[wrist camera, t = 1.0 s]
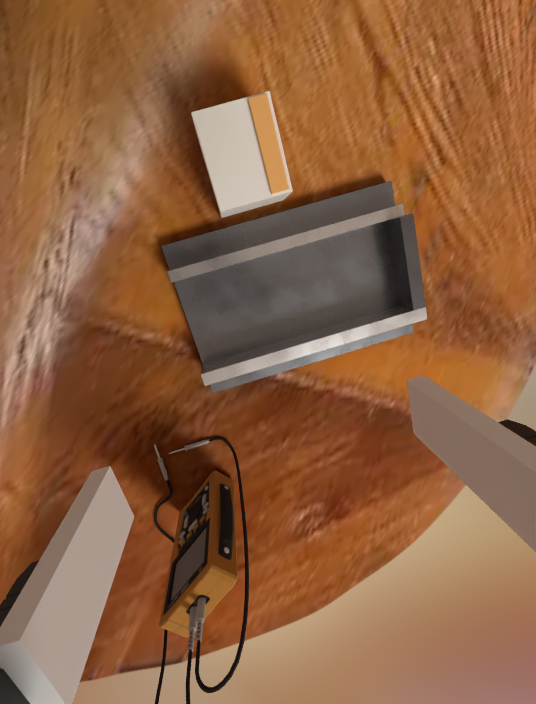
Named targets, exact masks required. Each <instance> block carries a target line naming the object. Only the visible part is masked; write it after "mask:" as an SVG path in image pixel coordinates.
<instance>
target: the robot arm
mask: <svg viewBox="0 0 536 704" xmlns="http://www.w3.org/2000/svg"><path fill="white" fill-rule="evenodd" d="M407 385H408V393H409V401H410V409H411V417H412V425H413V432H414V434H415V435H416V436H417V437H418V438H419V439H420V440H421V441H422V442H423V443H424V444H425V445H426V446H427V447H428V448H429V449H430V450H431V451H432V452H433V453H434V454H435V455H436V456H437V457H438V458H439V459H440V460H441V461H442V462H443V463H445V464H446V465H447V466H448V467H449V468H450V469H451V470H452V471H453V472H454V473H455V474H456V475H457V476H458V477H459V478H460V479H461V480H462V481H463V482H464V483H465V484H466V485H467V486H468V487H469V488H470V489H471V490H472V491H473V492H474V493H475V494H477V495H478V496H479V497H480V498H481V499H482V500H483V501H484V502H485V503H486V504H487V505H488V506H489V507H490V508H491V509H492V510H493V511H494V512H495V513H496V514H497V515H498V516H499V517H500V518H501V519H502V520H503V521H504V522H505V523H506V524H507V525H508V526H509V527H510V528H511V529H513V530H514V531H515V532H516V533H517V534H518V535H519V536H520V537H521V538H522V539H523V540H524V541H525V542H526V543H527V544H528V545H529V546H530V547H531V548H532V549H533V550H534V551H535V552H536V431H534V430H533V429H531V428H529V427H527V426H526V425H523V424H520V423H517V422H514V421H510V420H504V421H501V422H496V421H495V420H493V419H492V418H490V417H488V416H487V415H485V414H484V413H482V412H481V411H479V410H477V409H476V408H474V407H473V406H471V405H470V404H468V403H466V402H465V401H463V400H462V399H460V398H458V397H457V396H455V395H454V394H452V393H451V392H449V391H447V390H446V389H444V388H443V387H441V386H440V385H438V384H436V383H435V382H433V381H432V380H430V379H428V378H427V377H425V376H424V375H423V376H419V377H416V378H412V379H409V380H407ZM133 519H134V515H133V513H132V511H131V509H130V507H129V505H128V502H127V500H126V498H125V496H124V494H123V492H122V490H121V488H120V486H119V484H118V481H117V479H116V477H115V475H114V473H113V471H112V469H111V467H110V466H108V467H104V468H101V469H97V470H94V471H92V472H91V474H90V475H89V477H88V479H87V480H86V482H85V484H84V485H83V487H82V489H81V491H80V492H79V494H78V496H77V497H76V499H75V501H74V503H73V504H72V506H71V508H70V509H69V511H68V513H67V514H66V516H65V518H64V520H63V521H62V523H61V525H60V526H59V528H58V530H57V531H56V533H55V535H54V537H53V538H52V540H51V542H50V543H49V545H48V547H47V548H46V550H45V552H44V554H43V555H42V557H41V559H40V560H39V561H36V562H33V563H31V564H30V565H29V567H28V568H27V569H26V570H25V571H24V572H23V573H22V574H21V575H20V576H19V577H18V578H17V579H16V581H15V583H14V584H13V586H12V587H11V589H10V591H9V592H8V594H7V596H6V599H4V600H3V602H2V604H1V605H0V704H72V703H73V700H74V697H75V694H76V691H77V688H78V685H79V682H80V679H81V676H82V673H83V670H84V667H85V664H86V661H87V658H88V655H89V652H90V649H91V646H92V643H93V640H94V637H95V634H96V631H97V628H98V625H99V622H100V618H101V615H102V612H103V609H104V606H105V603H106V600H107V597H108V594H109V591H110V588H111V585H112V582H113V579H114V576H115V573H116V570H117V567H118V564H119V561H120V558H121V555H122V552H123V549H124V546H125V543H126V540H127V537H128V534H129V531H130V528H131V525H132V522H133Z"/></svg>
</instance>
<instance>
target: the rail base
mask: <svg viewBox="0 0 536 704" xmlns="http://www.w3.org/2000/svg"><path fill="white" fill-rule="evenodd" d="M161 247H162V250H163V253H164V256H165V259H166V261H167V264H168V267H169V270H170V271H167V273H168V275H169V278H170V281H171V283H172V282H174V284H175V287H176V290H177V293H178V295H179V298H180V301H181V304H182V307H183V310H184V312H185V315H186V318H187V321H188V324H189V327H190V329H191V332H192V335H193V338H194V341H195V344H196V346H197V349H198V352H199V355H200V358H201V361H202V363H203V366H202V371H201V377H202V379H203V382H204V385H205V386H207V385H210V386H211V389H212V392H213V393H214V392H218V391H221V390H224V389H228V388H231V387H234V386H238V385H241V384H244V383H247V382H251V381H254V380H257V379H261V378H264V377H267V376H271V375H274V374H277V373H281V372H284V371H287V370H290V369H294V368H297V367H300V366H304V365H307V364H310V363H314V362H317V361H320V360H324V359H327V358H330V357H333V356H337V355H340V354H343V353H347V352H350V351H353V350H357V349H360V348H363V347H367V346H370V345H373V344H376V343H380V342H383V341H386V340H390V339H393V338H396V337H400V336H403V335H406V334H410V333H413V325H412V323H416V322H419V321H422V320H426V319H427V314H426V306H425V299H424V291H423V284H422V276H421V269H420V261H419V254H418V246H417V238H416V231H415V223H414V216H413V214H408V215H404V208H403V204H401V205H397V206H395V203H394V196H393V189H392V182H391V181H389V182H385V183H382V184H378V185H375V186H371V187H368V188H364V189H361V190H357V191H354V192H350V193H347V194H343V195H339V196H336V197H332V198H329V199H325V200H322V201H318V202H315V203H311V204H308V205H304V206H301V207H297V208H294V209H290V210H287V211H283V212H280V213H276V214H273V215H269V216H266V217H262V218H258V219H255V220H251V221H248V222H244V223H241V224H237V225H234V226H230V227H227V228H223V229H220V230H216V231H213V232H209V233H206V234H202V235H199V236H195V237H192V238H188V239H184V240H181V241H177V242H174V243H170V244H167V245H163V246H161Z"/></svg>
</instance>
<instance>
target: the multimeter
mask: <svg viewBox="0 0 536 704" xmlns="http://www.w3.org/2000/svg"><path fill="white" fill-rule="evenodd" d="M213 440H223V441H225V442H226V443H227V444H228V446H229V447H230V448H231V450H232V452H233V455H234V458H235V462H236V468H237V474H238V482H239V491H240V501H241V510H242V521H243V533H244V550H245V602H244V616H243V625H242V631H241V638H240V643H239V647H238V651H237V655H236V659H235V661H234V663H233V665H232V667H231V669H230V671H229V673H228V674H227V676H226V677H225V678H224V679H223V681H222V682H221V683H219V684H218V685H217V686H215V687H207V686H205V685H204V684H203V683H202V681H201V679H200V676H199V659H200V643H201V641H202V638H201V637H202V627H203V626H202V625H203V622H204V619H205V618H206V616H207V615H208V614H209V613H210V612H211V611H212V610H213V608H214V607H215V606H216V605H217V604H218V603H219V602H220V600H221V599H222V598H223V597H224V596H225V595H226V594H227V592H229V591H230V590H231V588H232V587H233V586H234V585H235V583H236V581H237V550H236V522H235V501H234V481H233V480H232V479H230V478H228V477H227V476H225V475H223V474H221V473H220V472H218V471H216V470H214V471H212V472H211V474H210V475H209V477H208V478H207V479H206V481H205V482H204V483H203V484H202V486H201V487H200V488H199V489H198V491H197V492H196V493H195V494H194V496H193V497H192V498H191V499H190V501H189V502H188V503H187V504H186V505H185V506H184V507H183V509H182V510H181V512H180V514H179V519H178V524H177V530H176V535H175V540H174V539H173V538H171V537H170V536H169V535H167V534H166V533H165V532H164V531H163V530H162V529H161V528H160V527H159V525H158V523H157V511H158V509H159V507H160V506H161V505H162V504H163V503H165V502H166V501H167V500H169V499H170V498H171V496H172V488H171V485H170V482H169V480H168V474H167V471H166V469H165V466H164V463H163V458H160V455H159V453H158V450H157V447H156V445H155V444H154V447H155V450H156V453H157V456H158V458H159V459H157V461H158V463H159V465H160V468H161V471H162V474H163V477H164V478H165V480H166V482H167V484H168V487H169V490H170V495H169V497H167V498H166V499H165V500H164V501H162V502H161V503H160V504H159V505H158V506H157V508H156V511H155V516H154V521H155V524H156V526H157V528H158V529H159V530H160V532H161V533H162V534H164V535H165V536H166V537H167V538H168V539H170V540H171V541H172V542H173V543H174V546H173V551H172V556H171V562H170V567H169V573H168V579H167V584H166V590H165V595H164V601H163V606H162V612H161V618H160V623H159V625H160V628H163V629H165V633H164V648H163V659H162V666H161V673H160V678H159V684H158V689H157V694H156V700H155V704H158V702H159V696H160V690H161V685H162V679H163V673H164V666H165V658H166V647H167V630H168V631H171V632H174V633H176V634H178V635H181V636H183V637H185V638H187V637H189V643H188V652H189V655H188V665H187V676H186V704H190V670H191V658H192V652H193V646H194V634H195V631H196V628H197V637H196V642H197V651H196V665H195V674H196V680H197V683H198V685H199V687H200V688H201V689H202V690H203V691H204V692H206V693H213V692H216V691H218V690H220V689H221V688H222V687H223V686H224V685H225V684H226V683H227V682H228V680H229V679H230V678H231V677H232V675H233V673H234V671H235V669H236V667H237V665H238V663H239V660H240V655H241V652H242V648H243V644H244V639H245V632H246V625H247V614H248V599H249V564H248V543H247V530H246V520H245V510H244V501H243V493H242V484H241V477H240V470H239V465H238V460H237V456H236V453H235V451H234V449H233V447H232V446H231V445H230V443H229V442H228V441H227V440H226V439H224V438H222V437H216V438H212V439H207V440H202V441H199V442H196V443H193V444H190V445H185V446H184V447H185V448H182V449H179V450H176V451H172V452H170V453H168V454H172V453H175V452H178V451H181V450H186V451H187V450H189V449H192V448H195V447H198V446H201V445H204V444H207V443H209V442H210V441H213Z"/></svg>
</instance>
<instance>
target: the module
mask: <svg viewBox="0 0 536 704" xmlns="http://www.w3.org/2000/svg"><path fill="white" fill-rule="evenodd" d="M191 114H192V118H193V122H194V126H195V130H196V135H197V138H198V141H199V145H200V148H201V151H202V155H203V158H204V162H205V165H206V168H207V172H208V175H209V178H210V182H211V185H212V188H213V192H214V195H215V199H216V202H217V205H218V209H219V212H220V215H221V218H224V217H227V216H231V215H234V214H238V213H241V212H245V211H248V210H252V209H255V208H259V207H262V206H266V205H269V204H272V203H276V202H279V201H283V200H284V199H285V198H286V197H287V196H288V195H289V194H290V193H291V192H292V191H293V190H292V186H291V182H290V177H289V173H288V169H287V164H286V160H285V156H284V152H283V147H282V143H281V139H280V134H279V130H278V126H277V121H276V117H275V113H274V108H273V104H272V100H271V95H270V91H267V92H264V93H260V94H257V95H253V96H249V97H246V98H242V99H238V100H235V101H231V102H227V103H224V104H220V105H216V106H213V107H209V108H205V109H202V110H198V111H194V112H191Z"/></svg>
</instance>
